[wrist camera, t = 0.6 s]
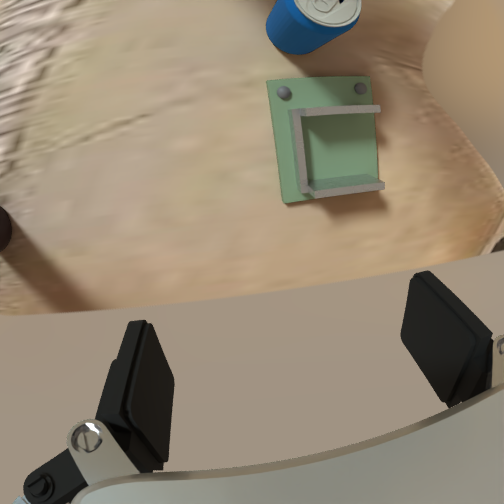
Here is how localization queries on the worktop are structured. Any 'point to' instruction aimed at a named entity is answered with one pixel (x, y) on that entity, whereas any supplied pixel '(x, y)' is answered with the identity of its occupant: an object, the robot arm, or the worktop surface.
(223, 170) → the worktop surface
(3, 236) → the wine bottle
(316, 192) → the bracket
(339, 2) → the beverage can
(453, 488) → the robot arm
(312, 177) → the deck plate
